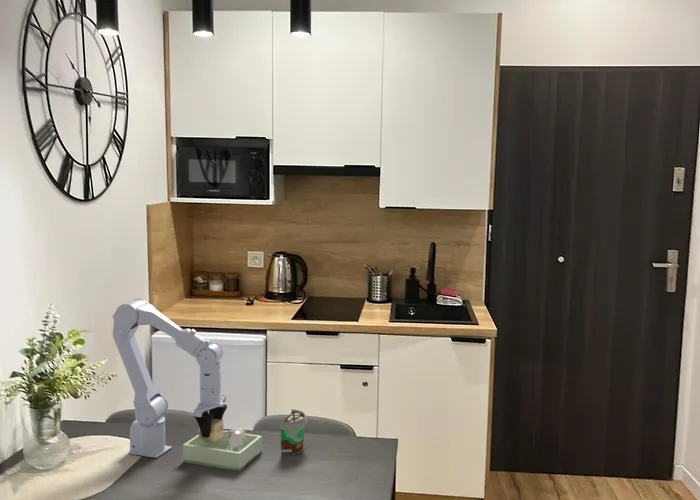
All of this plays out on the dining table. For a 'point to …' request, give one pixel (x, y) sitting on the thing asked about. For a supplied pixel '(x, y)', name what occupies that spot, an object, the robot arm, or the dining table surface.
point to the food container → (293, 432)
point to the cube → (213, 431)
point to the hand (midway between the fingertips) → (210, 433)
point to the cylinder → (235, 440)
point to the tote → (222, 452)
